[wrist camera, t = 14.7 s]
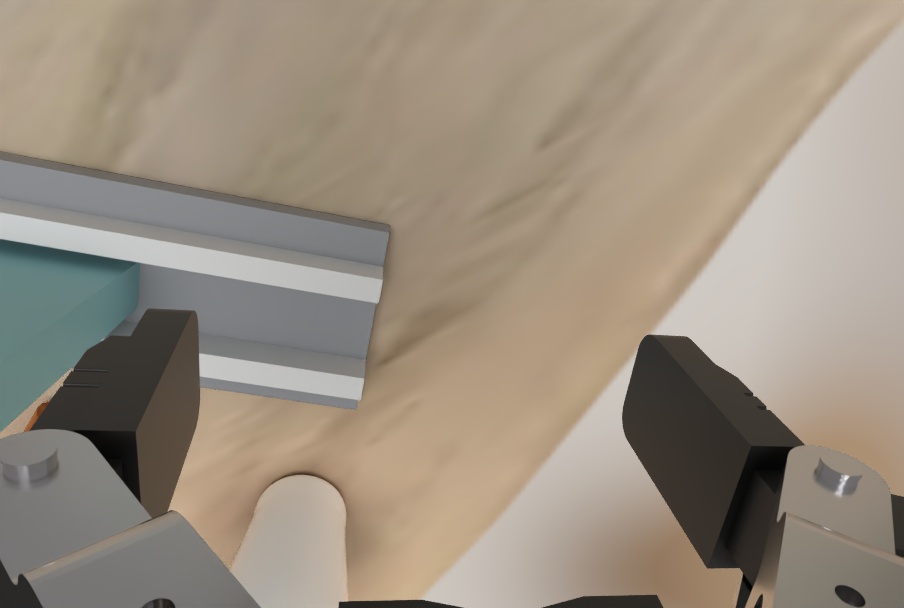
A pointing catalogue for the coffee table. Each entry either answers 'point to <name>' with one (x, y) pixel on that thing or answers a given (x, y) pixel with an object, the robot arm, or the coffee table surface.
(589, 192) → the coffee table surface
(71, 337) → the door panel
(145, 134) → the coffee table surface
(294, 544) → the drinking glass
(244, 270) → the track board
